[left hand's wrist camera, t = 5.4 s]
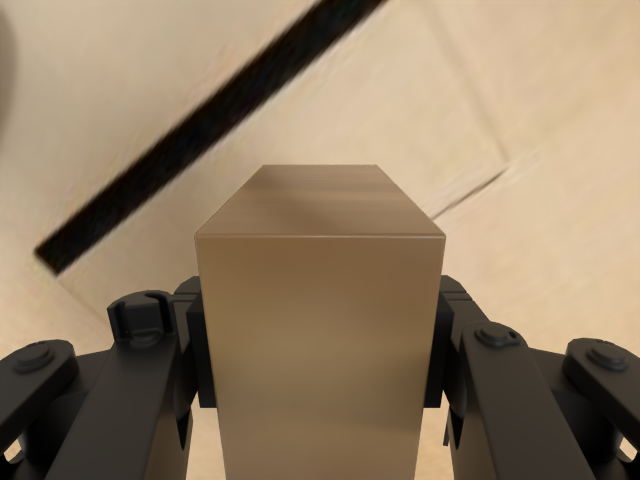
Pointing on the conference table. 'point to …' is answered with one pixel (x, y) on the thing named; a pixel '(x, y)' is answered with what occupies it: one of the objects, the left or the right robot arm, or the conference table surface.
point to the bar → (320, 323)
